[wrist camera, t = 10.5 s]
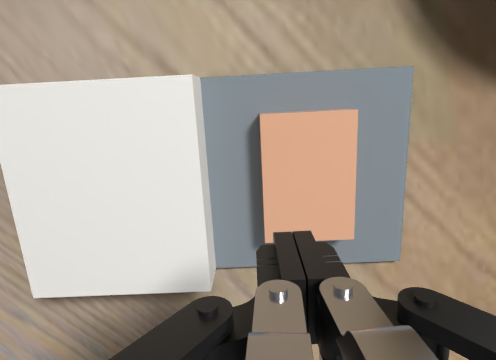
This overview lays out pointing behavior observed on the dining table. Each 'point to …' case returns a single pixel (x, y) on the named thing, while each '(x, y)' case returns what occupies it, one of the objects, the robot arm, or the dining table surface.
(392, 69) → the slate mat
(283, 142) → the terracotta tile
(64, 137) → the white flat block
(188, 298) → the dining table surface
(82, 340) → the dining table surface
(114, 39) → the dining table surface
